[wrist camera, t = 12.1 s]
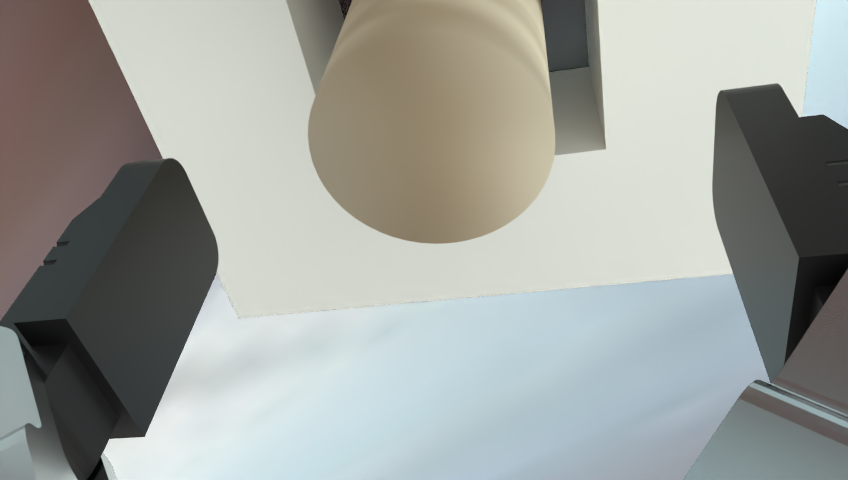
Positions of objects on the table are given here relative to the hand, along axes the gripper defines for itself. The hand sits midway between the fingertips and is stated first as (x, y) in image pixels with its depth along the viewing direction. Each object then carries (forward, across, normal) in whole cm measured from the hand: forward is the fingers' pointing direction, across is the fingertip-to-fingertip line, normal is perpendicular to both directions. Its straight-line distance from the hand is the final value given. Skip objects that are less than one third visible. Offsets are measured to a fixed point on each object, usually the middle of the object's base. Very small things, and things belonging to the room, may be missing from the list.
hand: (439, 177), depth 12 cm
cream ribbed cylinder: (+9, 0, 0) cm, 9 cm away
